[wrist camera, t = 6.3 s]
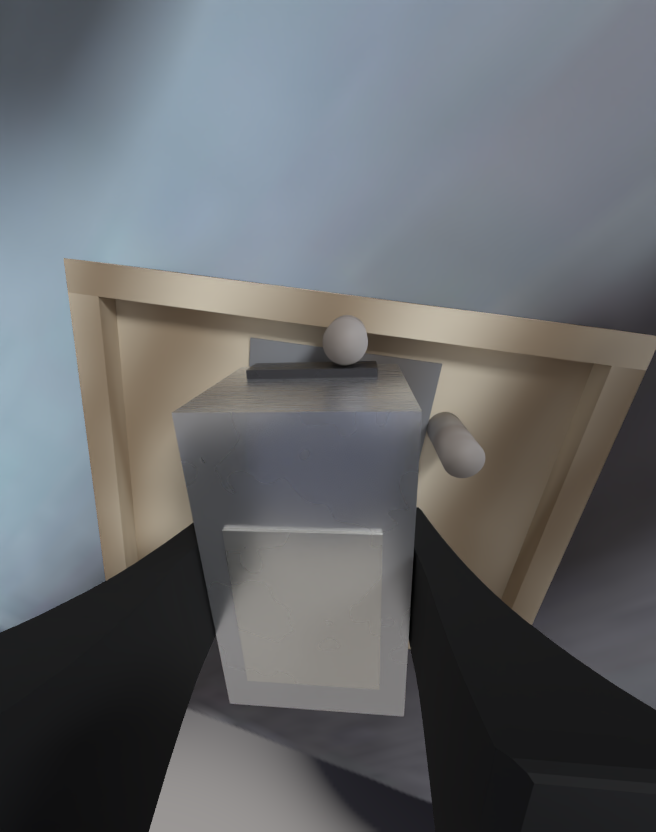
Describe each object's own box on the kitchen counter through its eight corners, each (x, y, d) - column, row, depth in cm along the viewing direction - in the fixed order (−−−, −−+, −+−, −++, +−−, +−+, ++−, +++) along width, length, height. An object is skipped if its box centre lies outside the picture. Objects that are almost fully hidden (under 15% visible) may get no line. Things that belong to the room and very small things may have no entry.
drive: (397, 355, 11) (423, 400, 6) (390, 586, 14) (404, 721, 10) (241, 359, 11) (166, 402, 7) (268, 581, 14) (228, 707, 10)
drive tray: (613, 329, 12) (719, 345, 8) (495, 624, 17) (531, 711, 13) (107, 263, 13) (11, 252, 9) (135, 564, 17) (78, 633, 14)
